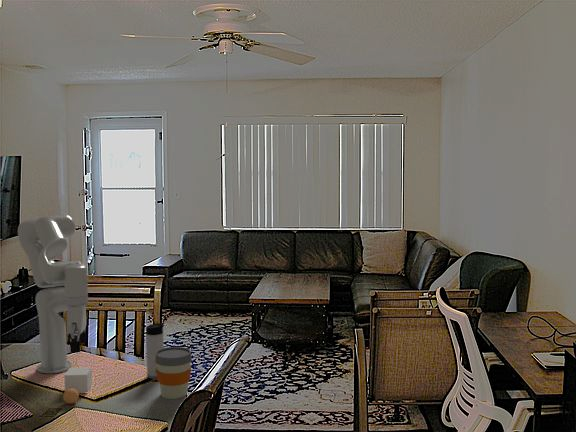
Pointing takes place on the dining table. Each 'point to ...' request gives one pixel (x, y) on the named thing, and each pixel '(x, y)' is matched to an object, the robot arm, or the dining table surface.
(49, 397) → the dining table surface
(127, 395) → the dining table surface
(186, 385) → the reusable coffee cup
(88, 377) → the white block
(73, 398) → the ball
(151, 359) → the travel mug
